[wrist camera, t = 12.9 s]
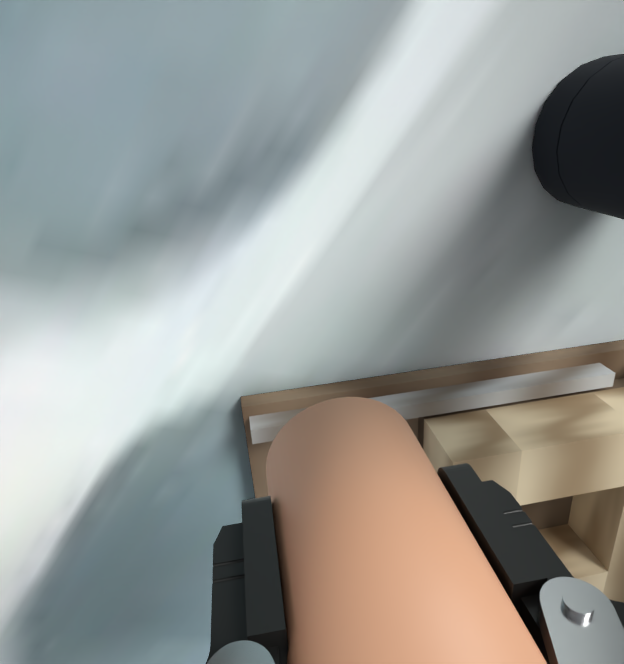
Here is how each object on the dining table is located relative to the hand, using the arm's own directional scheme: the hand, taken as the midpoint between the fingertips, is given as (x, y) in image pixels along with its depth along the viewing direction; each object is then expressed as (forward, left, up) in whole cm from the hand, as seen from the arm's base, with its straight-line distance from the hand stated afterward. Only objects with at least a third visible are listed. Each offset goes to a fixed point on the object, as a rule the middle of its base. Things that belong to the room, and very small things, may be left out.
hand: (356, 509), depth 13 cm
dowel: (0, 0, -2) cm, 2 cm away
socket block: (-12, +12, -12) cm, 21 cm away
